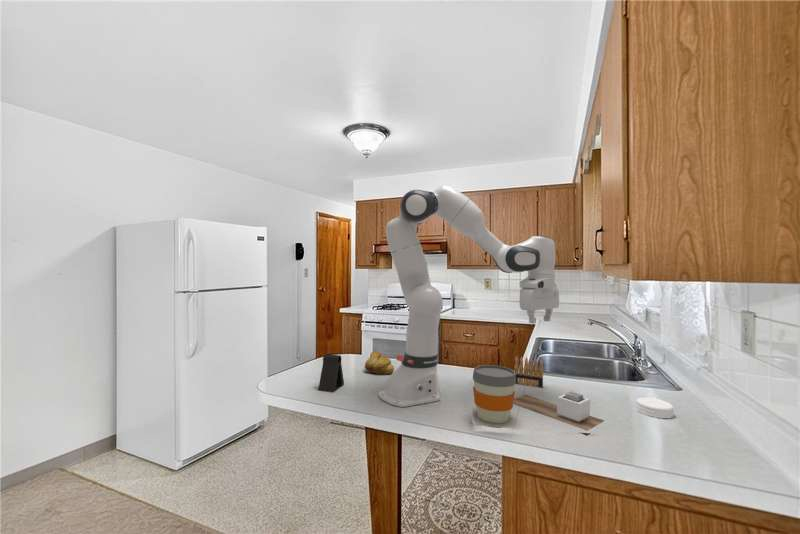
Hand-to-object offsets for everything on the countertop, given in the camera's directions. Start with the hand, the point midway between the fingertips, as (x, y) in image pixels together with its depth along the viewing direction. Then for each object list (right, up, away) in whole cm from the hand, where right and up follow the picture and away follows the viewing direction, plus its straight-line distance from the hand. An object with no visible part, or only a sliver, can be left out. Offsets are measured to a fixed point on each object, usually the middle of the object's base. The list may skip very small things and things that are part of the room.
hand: (539, 322), depth 128 cm
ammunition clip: (0, -27, +11) cm, 29 cm away
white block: (+3, -25, -19) cm, 31 cm away
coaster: (+34, -28, -9) cm, 45 cm away
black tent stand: (-74, -25, +6) cm, 78 cm away
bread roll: (-58, -26, +27) cm, 69 cm away
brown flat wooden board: (-1, -27, -14) cm, 30 cm away
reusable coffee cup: (-21, -27, -19) cm, 39 cm away
